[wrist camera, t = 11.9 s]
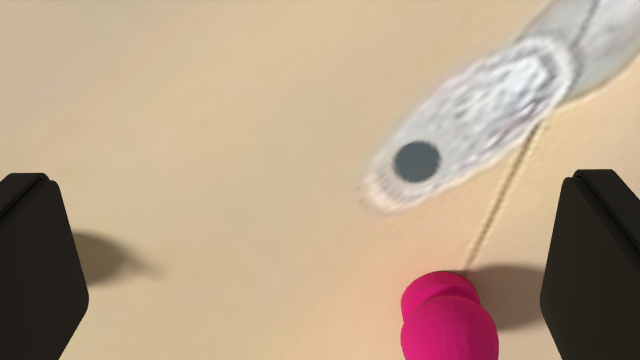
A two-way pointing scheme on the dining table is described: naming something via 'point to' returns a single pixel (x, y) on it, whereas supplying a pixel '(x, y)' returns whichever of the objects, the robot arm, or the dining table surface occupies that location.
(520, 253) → the dining table surface
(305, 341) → the dining table surface
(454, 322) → the pepper mill
